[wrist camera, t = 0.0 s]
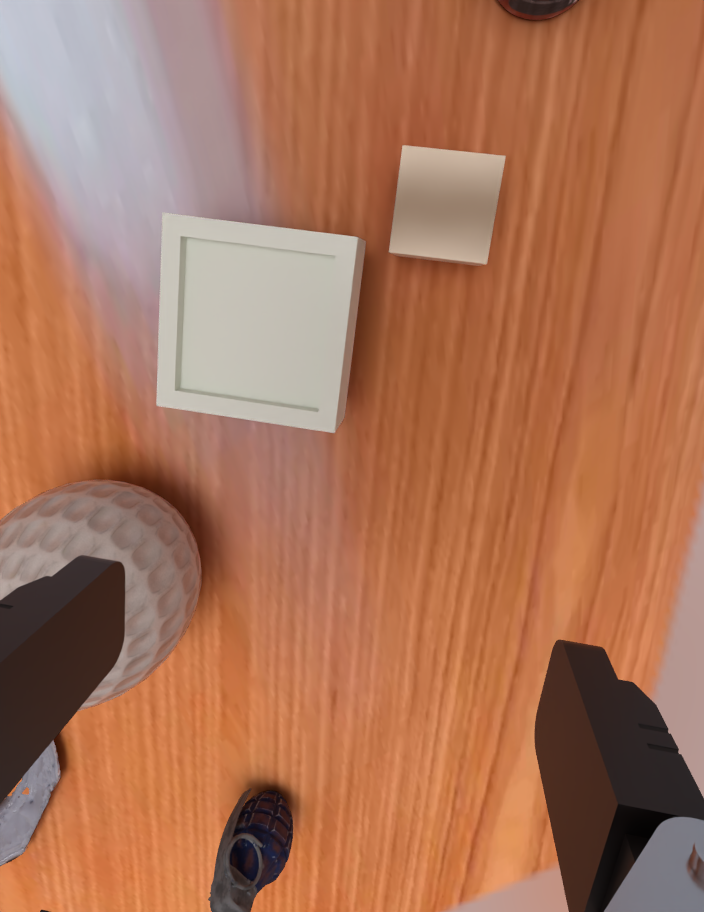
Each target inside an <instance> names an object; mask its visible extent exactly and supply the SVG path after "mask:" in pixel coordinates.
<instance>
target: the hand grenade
mask: <svg viewBox="0 0 704 912" xmlns="http://www.w3.org/2000/svg"><path fill="white" fill-rule="evenodd" d="M250 791H251V788H250V789H249V790H247V791H246V792H244V793H243V794H242V796H241V797H240V799H239V801H238V803H237V804H236V806H235V808H234V810H233V812H232V813H231V815H230V817H229V819H228V822H227V824H226V827H225V829H224V832H223V835H222V838H221V842H220V845H219V849H218V853H217V858H216V864H215V872H214V879H213V883H212V885H211V892H210V894H211V897H210V898H209V899H208V900H209V901H210V908H211V911H212V912H250V911H251V908H252V904H253V901H254V898H255V897H256V894H257V893H258V892H259V891H260V890H261V889H262V888H263V887H264V886H265V885H267V884H270V883H271V882H273V881H275V880H276V879H277V877H278V876H279V874H280V873H281V872H282V870H283V869H284V867H285V863H286V862H287V860H288V857H289V853H290V849H291V843H292V839H293V820H292V815H291V811H290V810H289V806H288V805H287V802H286V801H285V799H284V798H283V797H282V795H281V794H279V793H278V792H276V791H265V792H261V793H259V794H258V795H255V796H253V797H252V798H251V799H250V800H249V801H247V802H246V803H245V801H246V799H247V797H248V794H249V793H250ZM244 803H245V805H244ZM243 805H244V806H243Z"/></svg>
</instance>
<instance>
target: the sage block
mask: <svg viewBox="0 0 704 912" xmlns="http://www.w3.org/2000/svg"><path fill="white" fill-rule="evenodd" d="M365 247H366V241H365V240H363V239H361V238H359V237H354V236H346V235H338V234H330V233H322V232H314V231H306V230H298V229H290V228H281V227H273V226H265V225H257V224H249V223H241V222H233V221H225V220H217V219H209V218H201V217H193V216H185V215H177V214H169V213H162V239H161V272H160V305H159V338H158V372H157V405H156V406H162V407H168V408H175V409H181V410H188V411H194V412H201V413H207V414H214V415H220V416H227V417H233V418H240V419H246V420H252V421H259V422H265V423H272V424H278V425H285V426H291V427H298V428H304V429H311V430H317V431H324V432H330V433H335V432H336V430H337V429H338V427H339V425H340V424H341V422H342V421H343V419H344V418H345V410H346V401H347V393H348V385H349V377H350V369H351V361H352V353H353V345H354V337H355V328H356V320H357V312H358V304H359V296H360V288H361V280H362V272H363V263H364V255H365Z"/></svg>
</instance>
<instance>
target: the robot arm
mask: <svg viewBox="0 0 704 912" xmlns="http://www.w3.org/2000/svg"><path fill="white" fill-rule="evenodd" d="M124 637H125V568H124V565H123V564H122V563H121V562H119V561H114V560H108V559H103V558H97V557H91V556H86V555H80V556H78V557H76V558H75V559H74V560H72V561H71V562H70V563H68V564H67V565H66V566H65V567H63V568H62V569H61V570H59V571H58V572H57V573H56V574H54V575H53V576H52V577H51V576H45V577H42V578H40V579H37V580H35V581H32V582H30V583H27V584H25V585H22V586H20V587H18V588H16V589H15V590H14V591H12V592H11V593H10V594H8V595H7V596H6V597H4V598H3V599H1V600H0V804H1V802H2V801H3V800H4V799H5V798H6V796H7V795H8V794H9V793H10V792H11V790H12V789H13V788H14V787H15V786H16V784H17V783H18V782H19V781H20V780H21V778H22V777H23V776H24V775H25V773H26V772H27V771H28V770H29V769H30V767H31V766H32V765H33V764H34V763H35V761H36V760H37V759H38V758H39V757H40V755H41V754H42V753H43V752H44V751H45V749H46V748H47V747H48V746H49V745H50V743H51V742H52V741H53V740H54V739H55V737H56V736H57V735H58V734H59V732H60V731H61V730H62V729H63V728H64V726H65V725H66V724H67V723H68V722H69V720H70V719H71V718H72V717H73V716H74V714H75V713H76V712H77V711H78V710H79V708H80V707H81V706H82V705H83V704H84V702H85V701H86V700H87V699H88V697H89V696H90V695H91V694H92V693H93V691H94V690H95V689H96V688H97V687H98V685H99V684H100V683H101V682H102V681H103V679H104V678H105V677H106V676H107V675H108V673H109V672H110V671H111V670H112V668H113V667H114V666H115V664H116V662H117V660H118V658H119V656H120V653H121V650H122V647H123V643H124ZM535 749H536V755H537V760H538V765H539V769H540V774H541V779H542V784H543V789H544V793H545V798H546V803H547V808H548V813H549V818H550V822H551V827H552V832H553V837H554V842H555V847H556V851H557V856H558V861H559V866H560V871H561V876H562V880H563V885H564V890H565V895H566V900H567V905H568V909H569V912H704V798H703V796H702V794H701V792H700V790H699V788H698V786H697V784H696V782H695V780H694V779H693V777H692V775H691V773H690V771H689V769H688V767H687V765H686V763H685V761H684V759H683V757H682V755H681V754H679V753H678V750H679V749H678V747H677V745H676V743H675V741H674V739H673V737H672V735H671V734H669V733H668V728H667V726H666V724H665V722H664V720H663V718H662V716H661V714H660V712H659V710H658V708H657V706H656V704H655V703H654V702H653V701H652V700H651V699H649V698H648V697H647V696H646V695H645V694H644V693H643V692H642V691H641V690H640V689H639V688H638V687H637V686H636V685H635V684H634V683H633V682H629V681H623V680H618V678H617V676H616V674H615V672H614V669H613V667H612V665H611V663H610V660H609V658H608V656H607V654H606V652H605V650H604V649H603V648H602V647H599V646H593V645H588V644H582V643H576V642H570V641H565V640H557V641H556V643H555V645H554V647H553V650H552V653H551V658H550V662H549V666H548V670H547V674H546V678H545V682H544V686H543V690H542V694H541V698H540V702H539V706H538V710H537V715H536V721H535ZM40 912H49V911H45V910H41V911H40Z"/></svg>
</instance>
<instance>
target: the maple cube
mask: <svg viewBox="0 0 704 912" xmlns="http://www.w3.org/2000/svg"><path fill="white" fill-rule="evenodd" d="M505 157H506V156H502V155H492V154H482V153H473V152H463V151H454V150H444V149H434V148H425V147H415V146H405V145H403V146H402V154H401V161H400V169H399V177H398V185H397V192H396V200H395V208H394V216H393V224H392V231H391V239H390V247H389V253H391V254H393V255H395V256H401V257H409V258H417V259H425V260H434V261H442V262H450V263H458V264H467V265H475V266H481V265H485V264H487V260H488V255H489V249H490V243H491V237H492V232H493V226H494V220H495V215H496V209H497V203H498V197H499V192H500V186H501V180H502V174H503V169H504V163H505Z"/></svg>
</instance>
